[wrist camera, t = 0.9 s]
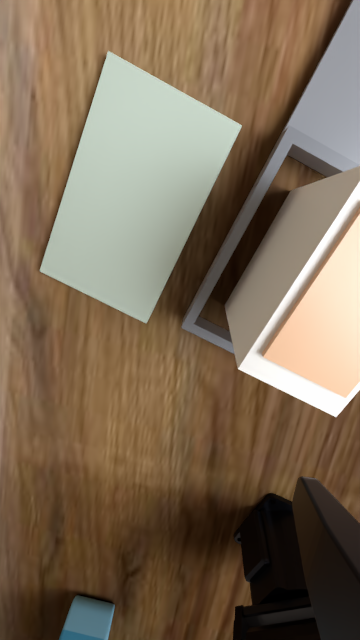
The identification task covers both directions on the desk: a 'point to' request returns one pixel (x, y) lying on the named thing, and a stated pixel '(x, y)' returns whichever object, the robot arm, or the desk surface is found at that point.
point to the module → (305, 297)
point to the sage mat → (135, 188)
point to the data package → (88, 620)
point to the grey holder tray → (301, 149)
